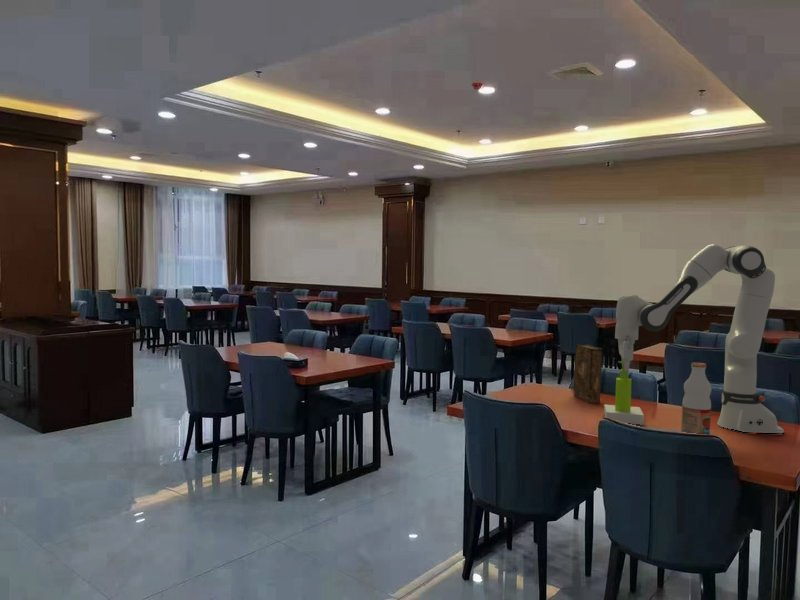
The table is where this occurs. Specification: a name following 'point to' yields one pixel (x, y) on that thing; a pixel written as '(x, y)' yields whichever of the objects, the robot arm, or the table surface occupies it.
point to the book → (588, 373)
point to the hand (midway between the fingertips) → (625, 368)
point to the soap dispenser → (623, 391)
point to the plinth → (624, 414)
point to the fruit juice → (696, 402)
